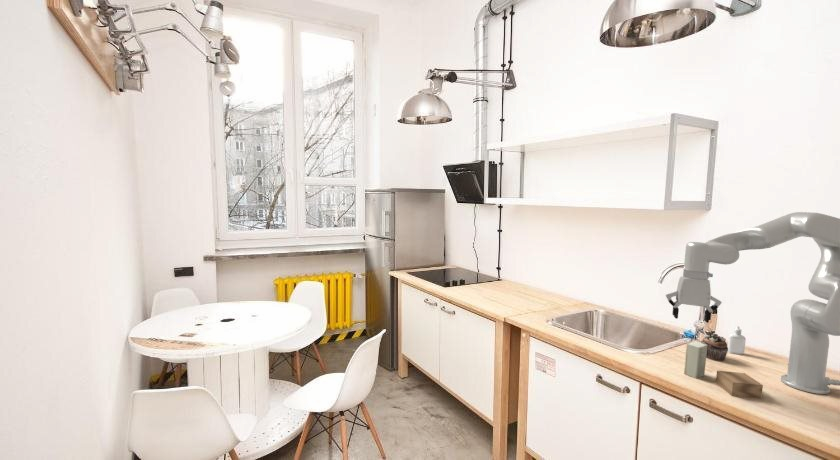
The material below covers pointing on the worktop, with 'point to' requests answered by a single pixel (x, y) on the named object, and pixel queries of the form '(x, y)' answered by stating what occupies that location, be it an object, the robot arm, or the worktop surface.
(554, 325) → the worktop surface
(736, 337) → the eye dropper bottle
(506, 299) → the worktop surface
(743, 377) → the block
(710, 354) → the cupcake
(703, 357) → the skincare box
